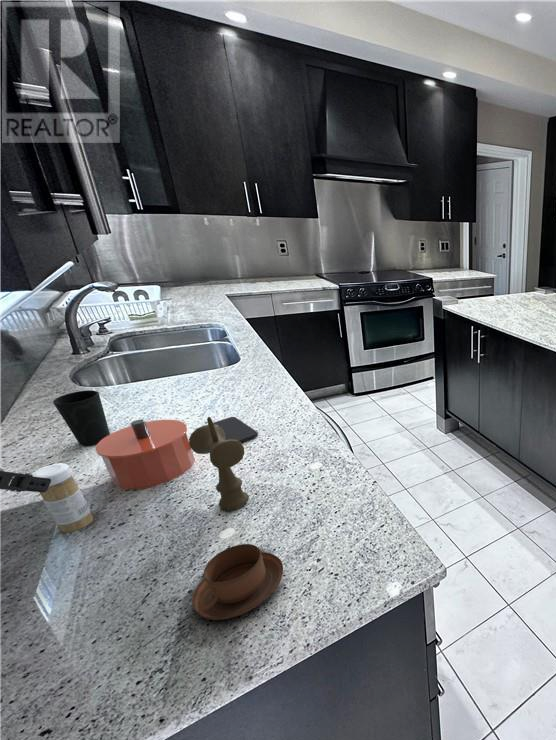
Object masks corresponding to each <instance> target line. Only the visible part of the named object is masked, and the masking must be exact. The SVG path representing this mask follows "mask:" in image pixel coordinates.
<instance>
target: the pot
mask: <svg viewBox="0 0 556 740" xmlns="http://www.w3.org/2000/svg"><path fill="white" fill-rule="evenodd" d="M101 459H102V461H103V463H104V466H105V467H106V470H107V472H108V475H109V476H110V479H111V482H112V483H113V486H115V487H116V488H119V489H121V490H134V491H135V490H142V489H147V488H153V487H155V486H159V485H162V484H165V483H167V482H170V481H172V480H174V479H176V478H179V477H180V476H182V475H184V474H185V473H186V472H187V471H189V470H190V469H191V468H192V467H193V465H194V463H195V461H196V458H195V456H194V451H193V450H192V449H191V447H190V445H189V437H188V434H187V432H186V433H185V434H184V436H182V437H181V438H180V439H179V440H177V441H176V442H174V443H172V444H170V445H168V446H166V447H164V448H161V449H159V450H156V451H153V452H149V453H146V454H142V455H138V456H132V457H125V458H107V457H102V456H101Z"/></svg>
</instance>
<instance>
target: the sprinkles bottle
mask: <svg viewBox="0 0 556 740" xmlns="http://www.w3.org/2000/svg"><path fill="white" fill-rule="evenodd" d="M30 475H33V476H34V477H41V478H49V479H51V483H50V485H49V487H48V489H47V491H46V492H43V493H42V492H39V494H40V496H41V498H42V500H43V503H44V505H45V506H46V508H47V510H48V512H49V514H50V516H51V517H52V519H53V521H54V523H55V524H56V526H57V527H58V529H59V530H60V532H61V533H72V532H76V531H79V530H81V529H83V528H85V527H87V526H89V524H91V523H92V522H93V521H94V517H93V514H92V513H91V508H90V507H89V505H88V503H87V500H86V498H85V497H84V495H83V493H82V490H81V489H80V487H79V486H78V484H77V482H76V480H75V479H74V476H73V472H72V469H71V467H70V466H69V465H68V464H67V463H64V462H63V463H59V462H58V463H52V464H49V465H46V466H43V467H40V468H38V469H36V470H35V471H33V472H31V473H30Z"/></svg>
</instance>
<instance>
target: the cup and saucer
mask: <svg viewBox="0 0 556 740" xmlns="http://www.w3.org/2000/svg"><path fill="white" fill-rule="evenodd" d="M283 574H284V565H283V562H282V560H281V559H280V557H278V556H277V555H275V554H274V553H270V552H265V551H261V549H260V548H259V546H257V545H255V544H252V543H251V544H250V543H242V544H237V545H233V546H229V547H227V548H225V549H223V550H222V551H220V552H218V553H217V554H215V555H214V556H213V557H212V558H211V559H210V560H209V561H208V562H207V564H206V565H205V567H204V569H203V578H202V579H201V581H200V582H199V583H198V585H197V586H196V587H195V589H194V592H193V593H192V599H191V605H192V608H193V610H194V611H195V613H196V614H197V615H199V616H200V617H202V618H204V619H207V620H211V621H212V620H213V621H220V620H227V619H231V618H234V617H238V616H240V615H243V614H245V613H247V612H249V611H251V610H253V609H255V608H256V607H258V606H259V605H261V604H263V602H265V601H267V599H268V598H269V597H270V596H271V595H272V594H273V593H274V592H275V591H276V589H278V587H279V585H280V583H281V581H282V578H283Z"/></svg>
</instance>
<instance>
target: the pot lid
mask: <svg viewBox="0 0 556 740" xmlns="http://www.w3.org/2000/svg"><path fill="white" fill-rule="evenodd" d="M187 431H188V427H187V424H186V423H185V422H183V421H181V420H176V419H155V420H149V421H146V420H145V419H136V420H133V421H131V422H130V425H129V426H127V427H123V428H121V429H119V430H116V431H114V432H112V433H110V435H108V436H106V437H105V438H103V439H102V440H101V441H100V442H99V443H98V444H97V445H95V448H94V449H95V452H96V454H97V455H98V456H100V457H101V458H102V457H107V458H125V457H132V456H138V455H142V454H146V453H149V452H153V451H156V450H159V449H161V448H164V447H166V446H168V445H170V444H172V443H174V442H176V441H177V440H179V439H180V438H181V437H182V436H184V434H185V433H186V434H187Z"/></svg>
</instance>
